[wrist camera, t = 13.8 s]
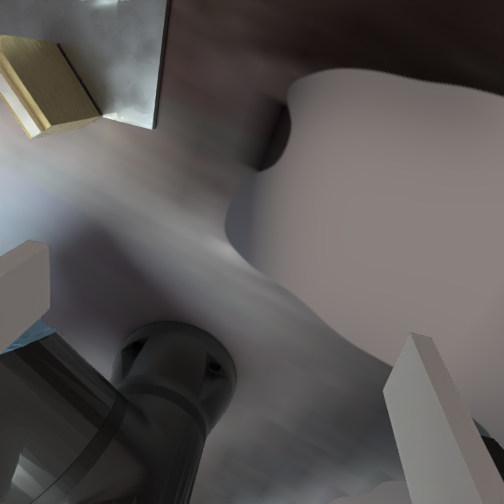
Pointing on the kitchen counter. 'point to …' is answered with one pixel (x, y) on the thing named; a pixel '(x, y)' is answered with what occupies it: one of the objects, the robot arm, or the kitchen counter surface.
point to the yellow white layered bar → (42, 88)
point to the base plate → (102, 48)
